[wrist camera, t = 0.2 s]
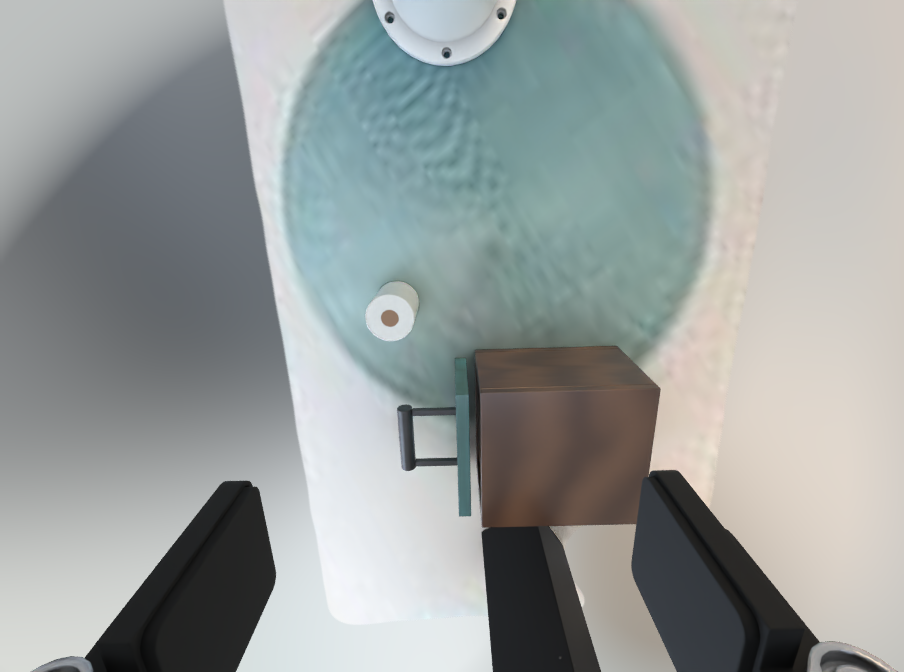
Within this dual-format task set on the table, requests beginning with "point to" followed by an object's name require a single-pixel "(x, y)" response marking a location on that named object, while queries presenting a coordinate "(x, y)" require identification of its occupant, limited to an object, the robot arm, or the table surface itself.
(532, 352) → the cabinet
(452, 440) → the table surface
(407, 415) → the drawer
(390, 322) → the paper towel roll
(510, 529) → the black square column
